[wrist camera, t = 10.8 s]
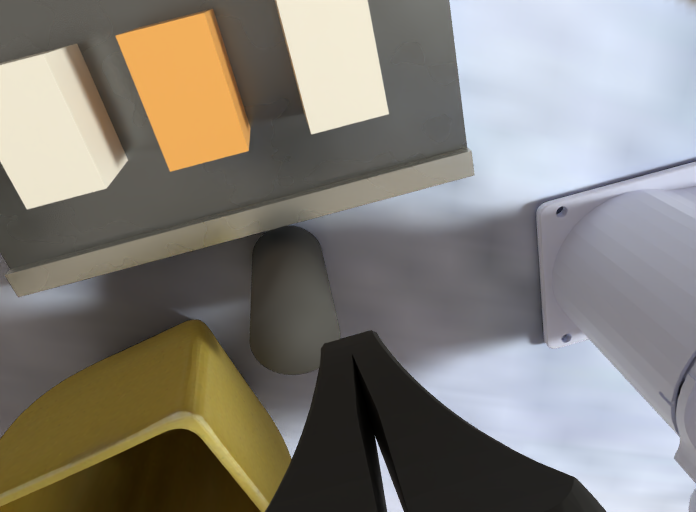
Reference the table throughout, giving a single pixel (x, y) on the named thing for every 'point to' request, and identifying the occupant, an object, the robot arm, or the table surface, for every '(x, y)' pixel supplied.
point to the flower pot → (146, 436)
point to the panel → (241, 169)
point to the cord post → (290, 302)
